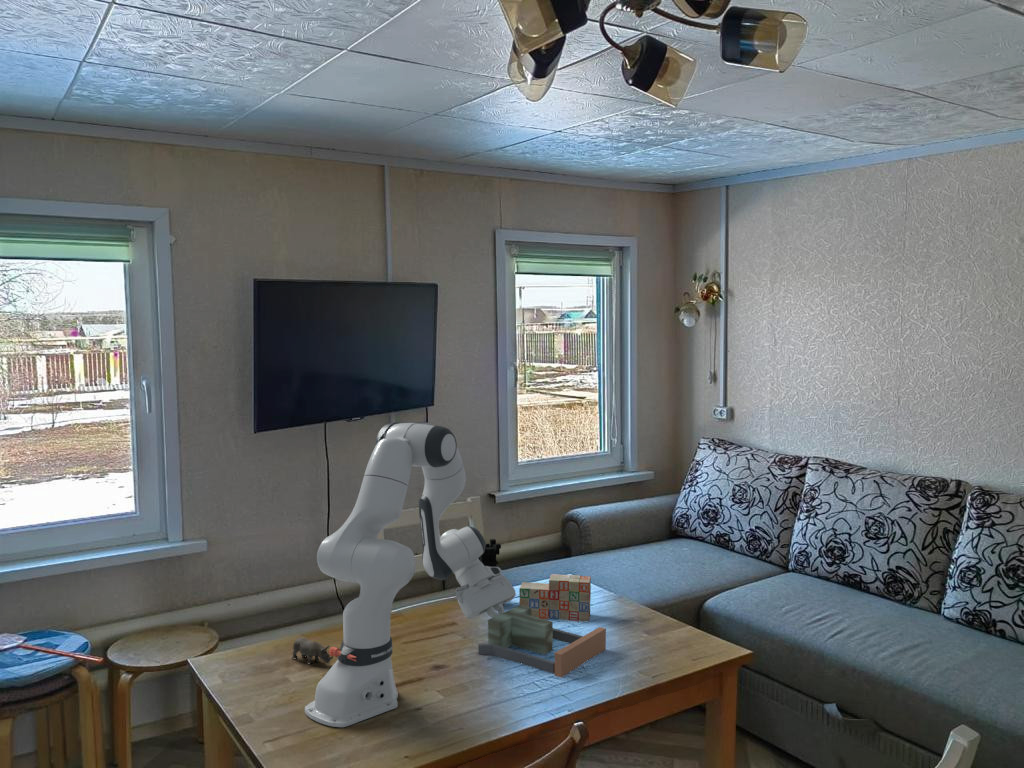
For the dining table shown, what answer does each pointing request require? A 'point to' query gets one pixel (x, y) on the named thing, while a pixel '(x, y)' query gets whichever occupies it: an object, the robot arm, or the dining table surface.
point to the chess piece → (490, 554)
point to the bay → (564, 658)
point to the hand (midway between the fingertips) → (502, 620)
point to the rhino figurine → (311, 650)
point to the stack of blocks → (558, 597)
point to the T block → (521, 630)
